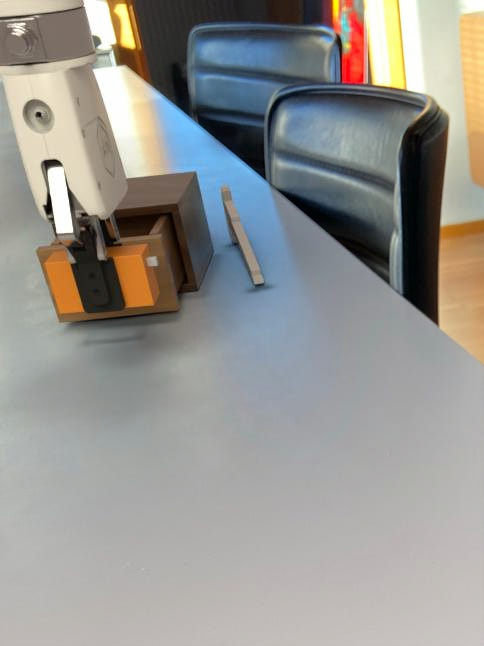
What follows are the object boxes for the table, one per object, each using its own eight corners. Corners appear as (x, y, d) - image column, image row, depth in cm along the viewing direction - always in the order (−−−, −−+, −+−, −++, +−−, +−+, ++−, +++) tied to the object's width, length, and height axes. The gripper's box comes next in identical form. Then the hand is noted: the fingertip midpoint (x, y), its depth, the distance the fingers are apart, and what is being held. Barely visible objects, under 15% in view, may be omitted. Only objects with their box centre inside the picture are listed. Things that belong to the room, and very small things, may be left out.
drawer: (172, 325, 94) (152, 249, 90) (48, 338, 94) (23, 263, 90) (196, 269, 108) (180, 201, 104) (88, 280, 108) (68, 213, 104)
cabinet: (198, 290, 105) (177, 203, 100) (76, 303, 105) (48, 216, 100) (214, 251, 117) (196, 171, 112) (104, 262, 116) (81, 182, 111)
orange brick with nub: (59, 314, 81) (43, 263, 79) (68, 301, 83) (52, 251, 81) (163, 304, 81) (151, 253, 79) (169, 292, 84) (157, 242, 81)
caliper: (229, 240, 120) (217, 183, 117) (239, 238, 121) (227, 182, 117) (255, 287, 105) (242, 224, 101) (265, 286, 105) (253, 222, 101)
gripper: (65, 54, 65) (140, 334, 76) (113, 25, 78) (171, 268, 89) (-54, 63, 65) (38, 344, 76) (14, 33, 78) (84, 276, 89)
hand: (109, 300), depth 82 cm, fingers closed on orange brick with nub, 3 cm apart
